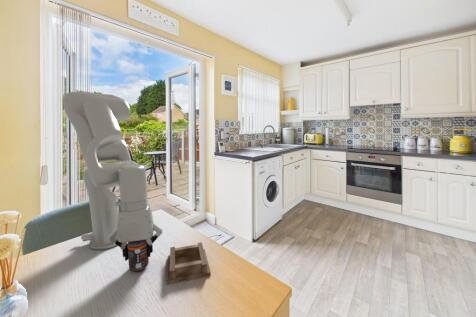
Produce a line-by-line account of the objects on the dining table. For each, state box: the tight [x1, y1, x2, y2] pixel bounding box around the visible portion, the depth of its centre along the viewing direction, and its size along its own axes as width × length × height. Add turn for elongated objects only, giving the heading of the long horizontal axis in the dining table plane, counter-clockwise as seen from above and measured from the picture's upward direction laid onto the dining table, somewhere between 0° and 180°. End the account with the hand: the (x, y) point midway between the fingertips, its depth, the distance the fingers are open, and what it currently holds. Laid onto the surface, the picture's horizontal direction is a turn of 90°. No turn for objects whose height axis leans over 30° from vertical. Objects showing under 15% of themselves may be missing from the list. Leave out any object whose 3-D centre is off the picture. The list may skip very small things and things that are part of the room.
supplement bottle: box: [127, 240, 150, 272], centre depth 68 cm, size 6×6×11 cm
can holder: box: [166, 241, 212, 285], centre depth 69 cm, size 13×13×4 cm
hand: (138, 255), depth 68 cm, fingers closed on supplement bottle, 6 cm apart
